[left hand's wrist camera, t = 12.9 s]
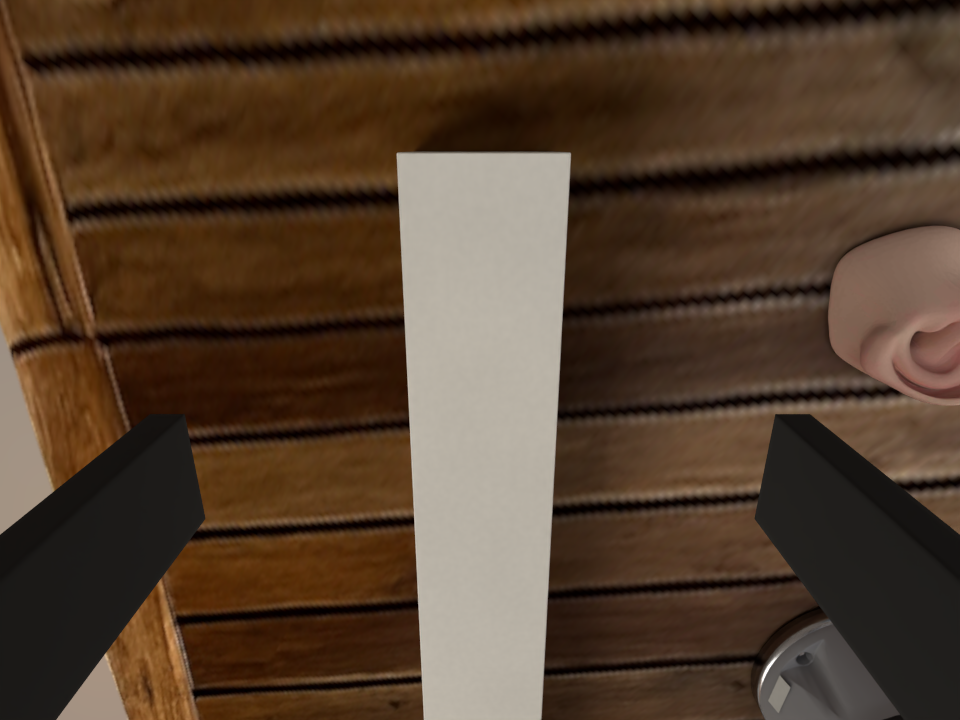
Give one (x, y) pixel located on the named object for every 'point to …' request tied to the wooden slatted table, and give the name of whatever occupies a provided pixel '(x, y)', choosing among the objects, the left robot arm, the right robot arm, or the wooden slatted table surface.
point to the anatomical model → (902, 312)
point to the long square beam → (483, 417)
